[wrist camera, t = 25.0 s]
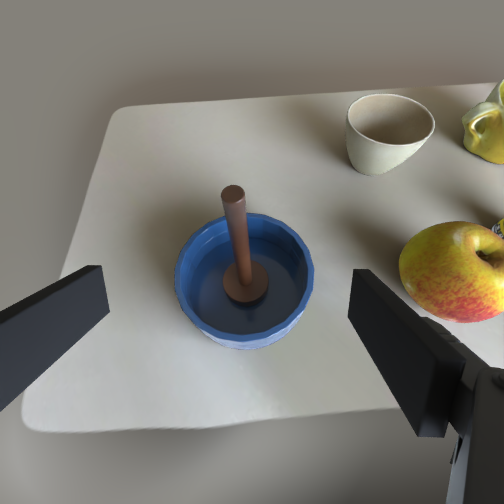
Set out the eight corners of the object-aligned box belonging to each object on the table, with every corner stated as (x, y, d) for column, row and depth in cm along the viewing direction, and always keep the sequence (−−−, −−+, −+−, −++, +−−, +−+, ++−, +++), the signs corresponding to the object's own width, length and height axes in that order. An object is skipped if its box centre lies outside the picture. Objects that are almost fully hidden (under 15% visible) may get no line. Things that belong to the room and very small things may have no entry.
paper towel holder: (226, 310, 27) (193, 233, 14) (222, 268, 29) (190, 169, 16) (272, 303, 27) (281, 221, 14) (264, 262, 30) (266, 159, 16)
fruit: (498, 308, 27) (581, 279, 20) (427, 345, 26) (490, 328, 19) (432, 237, 31) (482, 192, 24) (369, 265, 30) (402, 226, 23)
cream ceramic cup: (405, 145, 39) (433, 97, 33) (405, 195, 34) (437, 151, 28) (337, 135, 40) (351, 87, 34) (329, 182, 36) (343, 138, 30)
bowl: (189, 359, 26) (174, 353, 21) (186, 245, 32) (174, 222, 28) (319, 338, 26) (331, 328, 22) (291, 230, 32) (296, 205, 28)
